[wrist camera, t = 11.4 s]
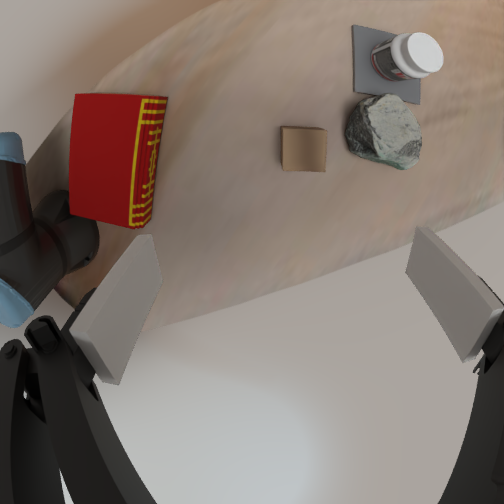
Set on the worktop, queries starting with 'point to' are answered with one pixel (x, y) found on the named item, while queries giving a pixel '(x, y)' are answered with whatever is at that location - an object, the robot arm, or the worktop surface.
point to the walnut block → (303, 148)
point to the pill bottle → (407, 57)
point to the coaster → (366, 74)
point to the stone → (385, 132)
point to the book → (114, 156)
